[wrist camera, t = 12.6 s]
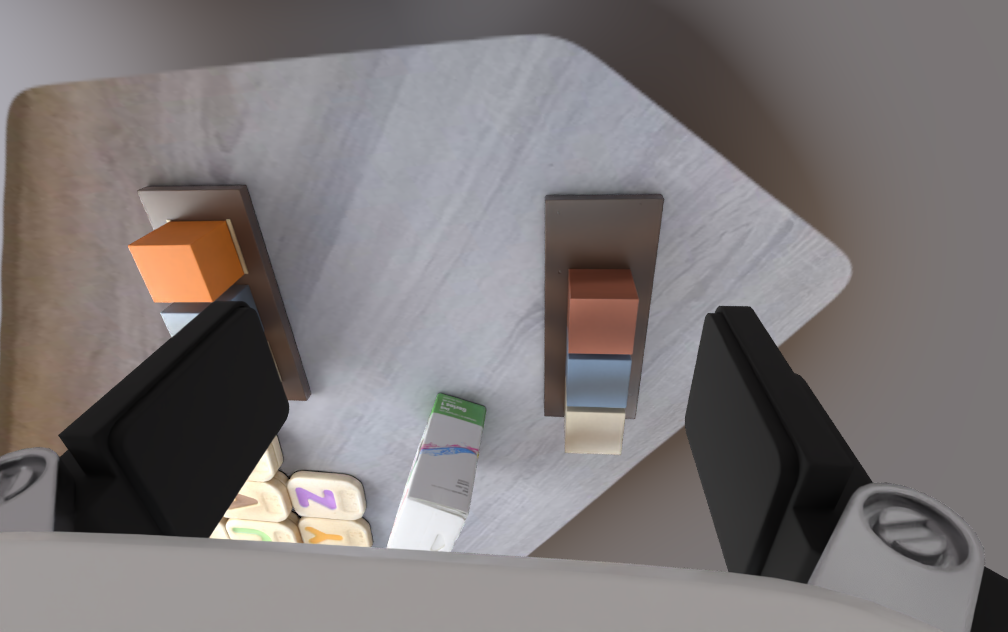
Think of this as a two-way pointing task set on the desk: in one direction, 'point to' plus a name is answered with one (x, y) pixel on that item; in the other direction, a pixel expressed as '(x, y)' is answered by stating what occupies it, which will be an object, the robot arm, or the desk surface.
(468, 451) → the ink box
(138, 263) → the orange cube
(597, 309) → the colored cube rack
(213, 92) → the desk surface
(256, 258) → the tray of colored blocks
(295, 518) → the alphabet tiles
